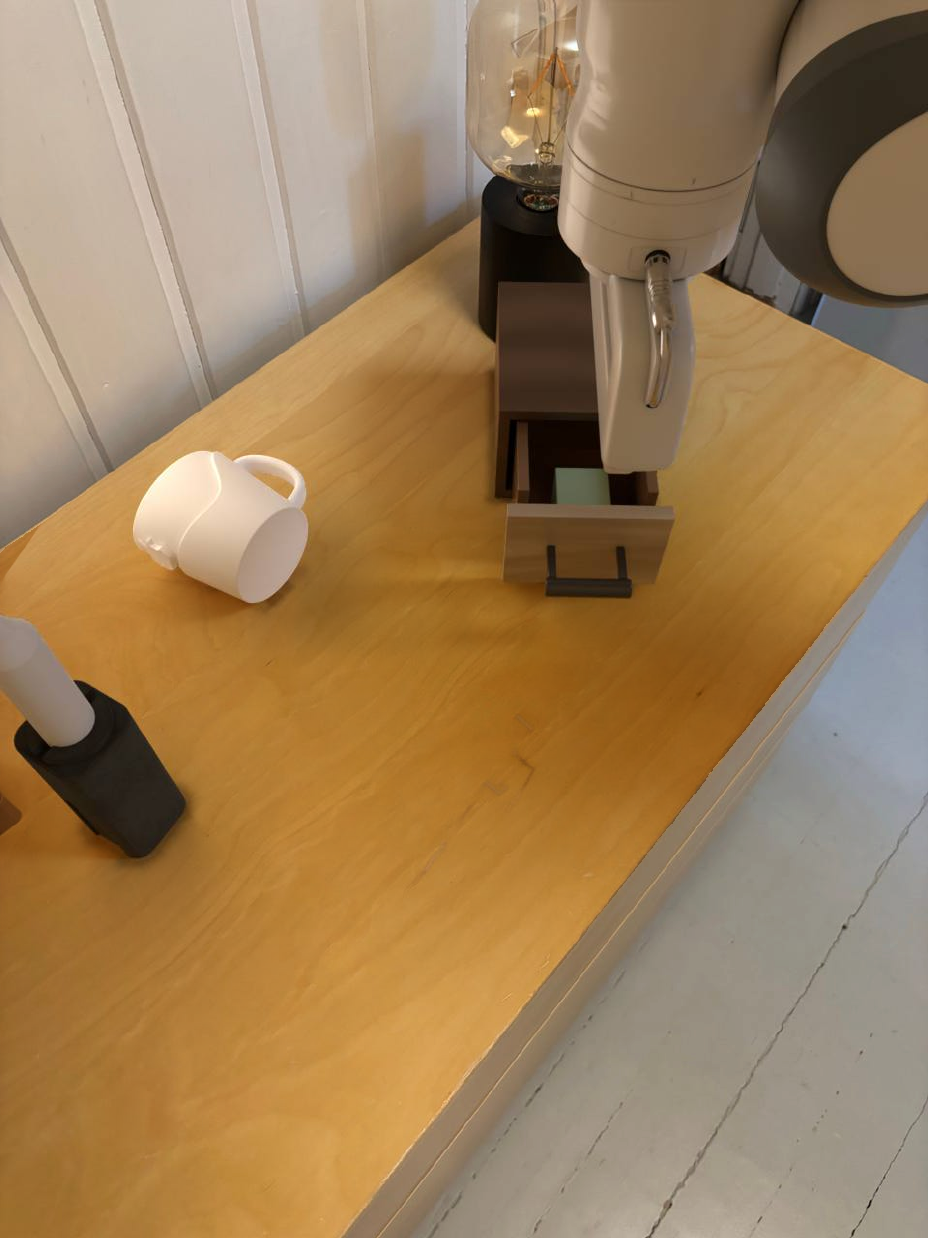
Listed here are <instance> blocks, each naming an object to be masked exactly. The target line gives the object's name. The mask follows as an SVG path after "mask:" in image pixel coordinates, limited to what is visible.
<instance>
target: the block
mask: <svg viewBox="0 0 928 1238" xmlns="http://www.w3.org/2000/svg"><path fill="white" fill-rule="evenodd" d="M551 504H572V505H611V502H610V491H609V479H608V473H607V472H605V470H604V469H587V468H555V472H554V480H553V487H552V495H551Z"/></svg>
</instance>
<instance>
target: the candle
mask: <svg viewBox="0 0 928 1238" xmlns="http://www.w3.org/2000/svg"><path fill="white" fill-rule="evenodd" d="M0 690H1V692H3V694H4V695H5V696H6V697H7V699H8V700H9V701H10V702H11V703H12V704H13V705H14V707H15V708H16V709H17V710H18V711H19V712H20V714H21V715H22V716H23V718H25V720H24V721H23V723H22V724H20V725H19V727H18V729H16V731H15V734H14V737H13V746H14V748H15V750H16V752H17V753H18V754H20V756H21V758H23V759H24V760H25V761H26V762H27V763H28V764H29V766H31V767H32V768H33V770H34V771H35V772H36V773H37V775H39V776H40V777H41V778H42V780H43V781H44V782H46V784H47V785H48V786H49V787H50V788H51V789H52V790H53V791H54V792H55V793H56V794H57V796H59V798H60V799H61V800H62V801H63V802H64V804H65V805H67V806H68V807H69V808H70V809H71V810H72V812H73V813H74V814H75V815H76V816H77V817H78V818H79V819H80V820H81V821H82V822H83V824H85V825H86V826H87V828H88V829H89V830H90V831H91V832H92V833H93V834H94V835H95V836H96V837H98V836H102V837H104V838H105V839H107V840H108V841H109V842H111V843H113V844H114V845H116V846H117V847H119V849H121V851H122V852H123V853H124V854H125V855H126V856H127V857H129V858H132V859H133V858H134V859H142V858H145V857H147V856H148V855H150V854H152V852H153V851H154V850H155V849H156V848H157V846H158V845H159V844H160V843H161V841H163V839H164V838H165V836H166V835H168V833H169V832H170V830H171V829H172V828H173V826H174V825H175V824H176V823H177V821H178V820H179V819H180V818H181V816H182V815H183V813H184V812H185V809H186V800H185V797H184V795H183V794H182V792H181V789H179V787H178V785H177V784H176V783H175V781H174V779H173V778H172V776H171V774H170V773H169V772H168V770H167V768H166V767H165V765H164V764H163V762H162V761H161V759H160V758H159V756H158V755H157V753H156V751H155V750H154V748H153V747H152V745H151V744H150V742H149V740H148V739H147V737H146V735H145V734H144V732H143V731H142V730H141V727H140V726H139V724H138V723H137V722H136V720H135V719H134V717H133V715H132V714H131V712H130V711H129V709H128V708H127V706H125V705H124V704H123V703H121V702H119V701H118V700H116V699H114V698H112V697H111V696H109V695H108V694H106V693H105V692H102V691H101V690H99V689H98V688H96V687H94V686H93V685H91V684H90V683H88V682H85V681H83V680H81V679H80V680H79V679H72V677H71V675H70V673H68V671H67V670H66V669H65V667H64V665H63V664H62V662H60V660H59V658H58V657H57V656H56V654H55V653H54V651H53V650H52V649H51V647H50V646H49V644H48V642H46V640H45V639H44V637H43V636H42V634H41V633H40V632H39V630H38V629H37V627H36V626H35V625H34V624H33V623H31V622H30V621H28V620H27V619H25V618H20V617H11V616H8V617H7V616H5V615H3V614H1V613H0Z"/></svg>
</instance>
